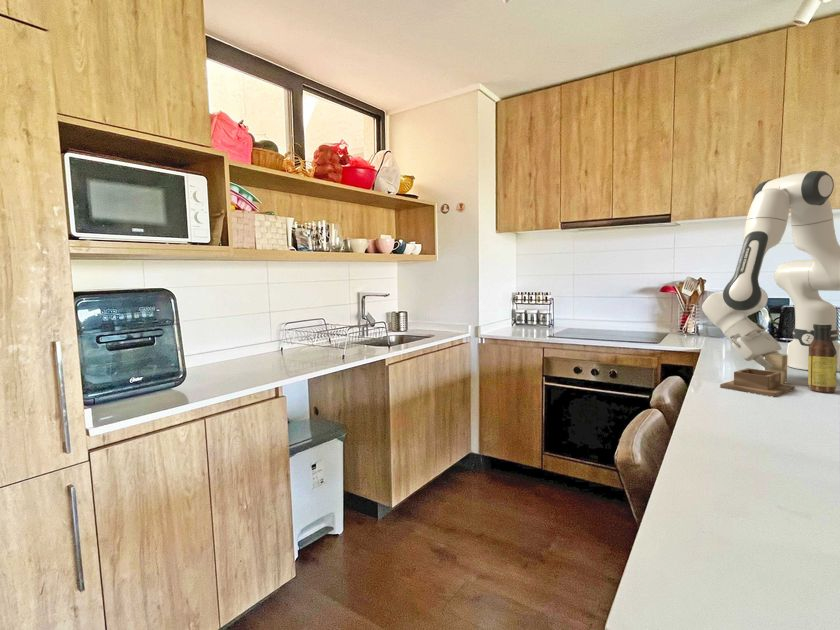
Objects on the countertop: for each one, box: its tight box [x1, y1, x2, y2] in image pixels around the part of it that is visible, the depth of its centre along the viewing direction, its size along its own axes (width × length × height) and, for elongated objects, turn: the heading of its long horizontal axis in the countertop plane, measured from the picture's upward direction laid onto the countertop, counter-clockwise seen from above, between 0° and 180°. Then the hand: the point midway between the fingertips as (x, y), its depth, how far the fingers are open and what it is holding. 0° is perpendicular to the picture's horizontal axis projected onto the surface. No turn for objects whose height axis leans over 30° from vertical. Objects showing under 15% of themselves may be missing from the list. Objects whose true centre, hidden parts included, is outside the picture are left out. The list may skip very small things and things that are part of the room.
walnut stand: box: [719, 367, 796, 398], centre depth 136 cm, size 14×14×5 cm
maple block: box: [764, 353, 788, 384], centre depth 143 cm, size 4×4×9 cm
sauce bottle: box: [807, 323, 838, 394], centre depth 131 cm, size 7×6×20 cm
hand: (777, 366), depth 142 cm, fingers open, 8 cm apart
